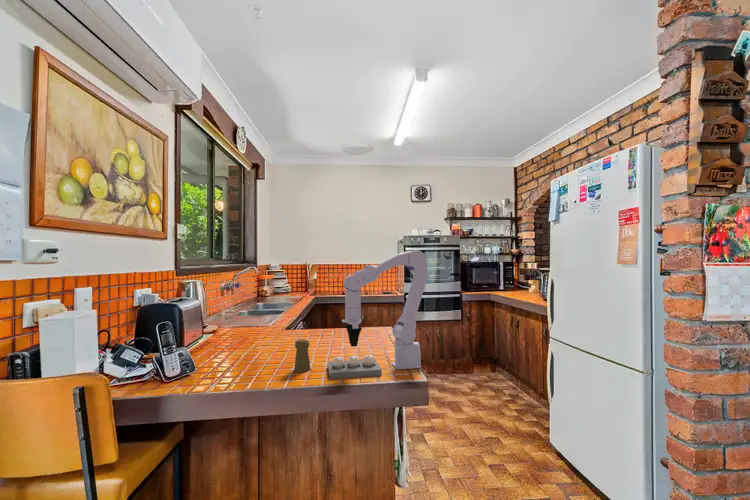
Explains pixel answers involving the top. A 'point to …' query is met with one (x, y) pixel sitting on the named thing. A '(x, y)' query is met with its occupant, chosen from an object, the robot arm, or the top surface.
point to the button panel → (354, 370)
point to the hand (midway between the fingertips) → (353, 345)
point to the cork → (302, 356)
